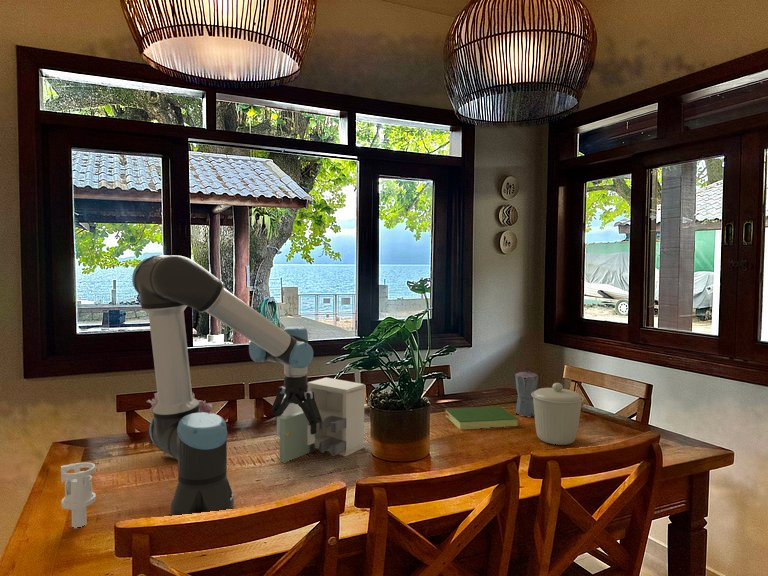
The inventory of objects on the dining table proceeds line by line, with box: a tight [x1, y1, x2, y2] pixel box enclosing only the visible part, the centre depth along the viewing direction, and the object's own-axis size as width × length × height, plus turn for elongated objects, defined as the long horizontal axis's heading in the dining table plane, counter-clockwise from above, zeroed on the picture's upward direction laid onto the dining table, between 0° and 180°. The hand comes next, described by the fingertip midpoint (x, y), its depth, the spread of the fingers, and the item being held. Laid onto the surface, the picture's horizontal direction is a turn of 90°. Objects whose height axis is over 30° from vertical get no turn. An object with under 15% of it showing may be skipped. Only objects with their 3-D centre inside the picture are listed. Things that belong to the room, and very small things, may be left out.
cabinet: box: [306, 376, 366, 457], centre depth 176 cm, size 16×17×22 cm
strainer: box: [60, 461, 97, 529], centre depth 123 cm, size 7×7×15 cm
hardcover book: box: [443, 405, 519, 431], centre depth 210 cm, size 25×19×4 cm
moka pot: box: [514, 367, 539, 417], centre depth 220 cm, size 10×15×20 cm, turn 163°
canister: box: [531, 382, 585, 446], centre depth 188 cm, size 18×18×21 cm
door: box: [279, 411, 316, 464], centre depth 169 cm, size 15×4×14 cm, turn 146°
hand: (295, 439), depth 168 cm, fingers open, 13 cm apart
